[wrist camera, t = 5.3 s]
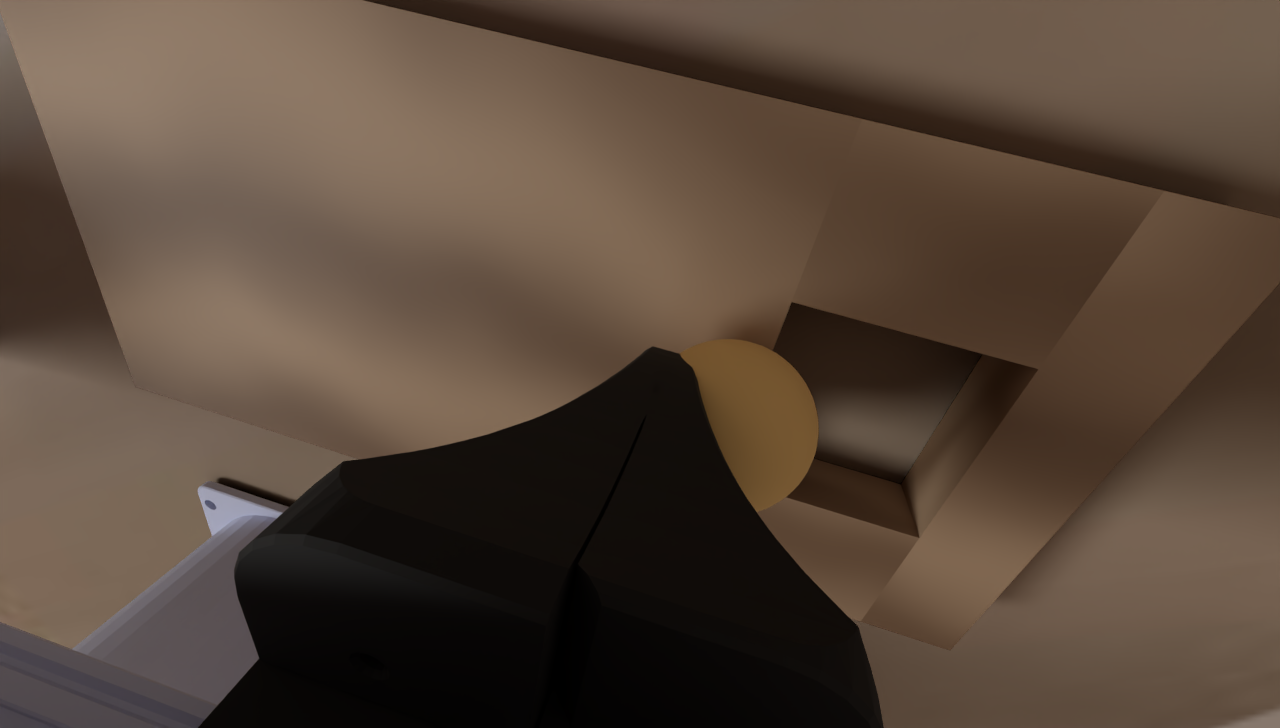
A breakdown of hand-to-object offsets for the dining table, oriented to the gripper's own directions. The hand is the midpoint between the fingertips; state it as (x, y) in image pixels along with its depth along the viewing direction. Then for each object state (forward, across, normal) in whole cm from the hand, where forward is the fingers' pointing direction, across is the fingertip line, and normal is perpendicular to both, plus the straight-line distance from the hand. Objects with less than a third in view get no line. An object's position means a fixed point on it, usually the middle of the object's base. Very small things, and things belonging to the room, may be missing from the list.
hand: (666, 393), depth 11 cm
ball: (0, -1, 0) cm, 1 cm away
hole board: (+3, +4, 0) cm, 5 cm away
